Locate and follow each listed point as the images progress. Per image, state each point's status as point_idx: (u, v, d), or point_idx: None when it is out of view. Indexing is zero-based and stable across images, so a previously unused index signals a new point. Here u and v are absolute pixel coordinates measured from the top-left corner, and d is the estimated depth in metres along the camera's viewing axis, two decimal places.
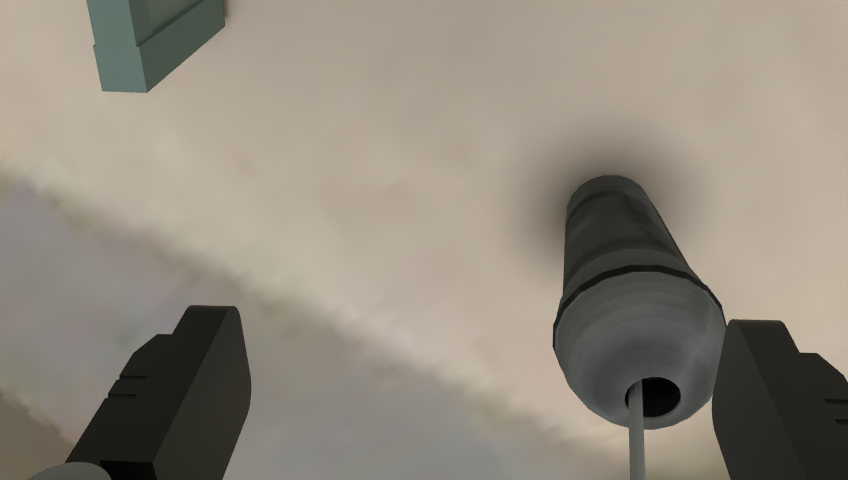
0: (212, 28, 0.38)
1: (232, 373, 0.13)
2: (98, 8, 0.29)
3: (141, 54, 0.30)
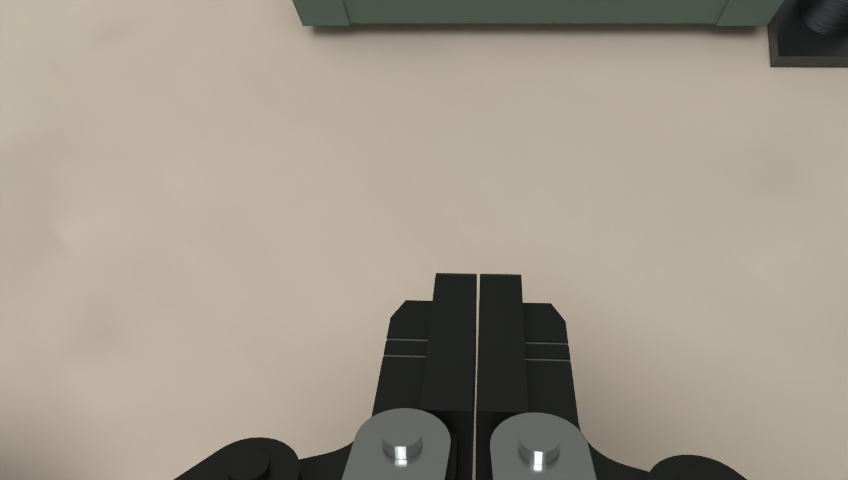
0: None
1: (475, 338, 0.14)
2: None
3: None
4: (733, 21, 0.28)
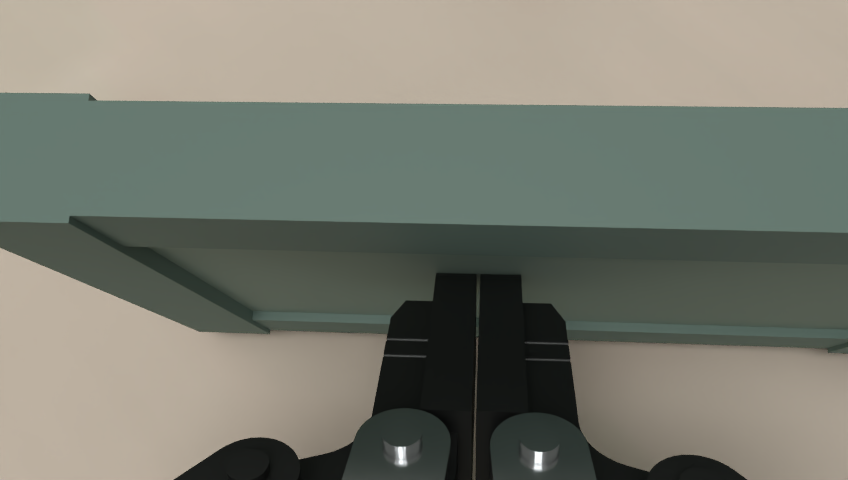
0: (187, 320, 0.18)
1: (475, 337, 0.14)
2: (187, 130, 0.10)
3: (48, 225, 0.10)
4: None
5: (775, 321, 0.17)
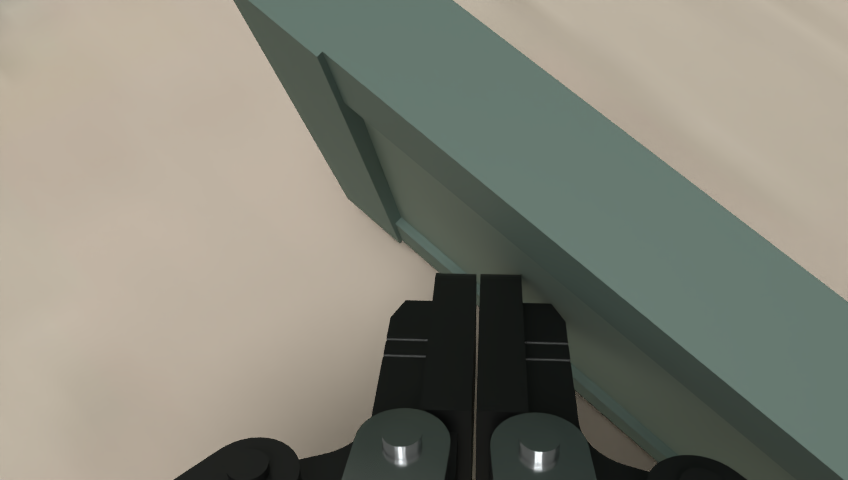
0: (345, 184, 0.18)
1: (475, 338, 0.14)
2: (467, 49, 0.10)
3: (301, 47, 0.10)
4: None
5: None
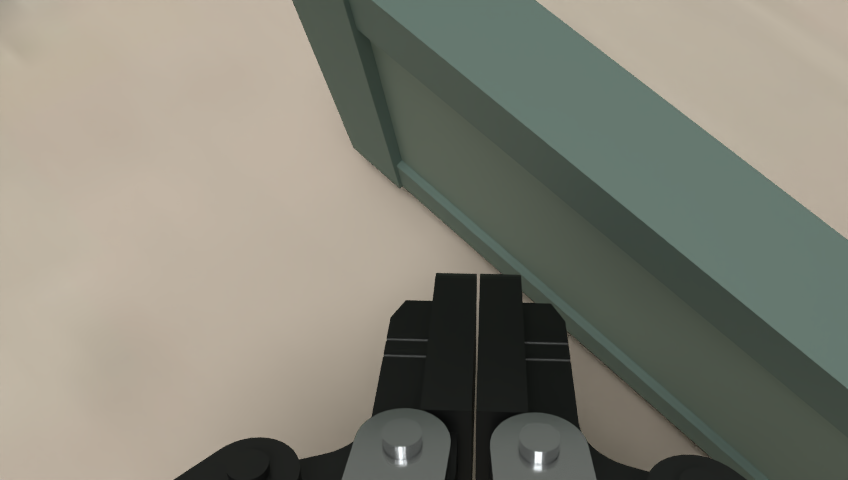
0: (352, 129, 0.20)
1: (475, 338, 0.14)
2: None
3: None
4: None
5: None
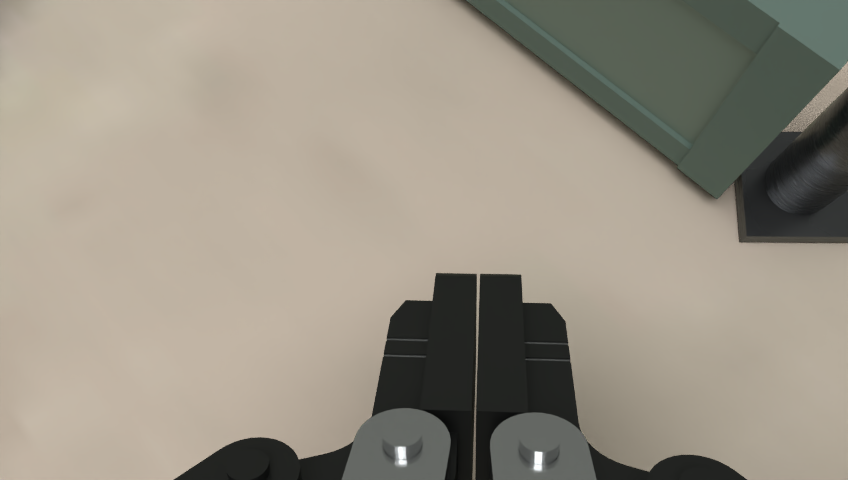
0: None
1: (475, 337, 0.14)
2: None
3: None
4: (691, 174, 0.29)
5: (652, 101, 0.27)
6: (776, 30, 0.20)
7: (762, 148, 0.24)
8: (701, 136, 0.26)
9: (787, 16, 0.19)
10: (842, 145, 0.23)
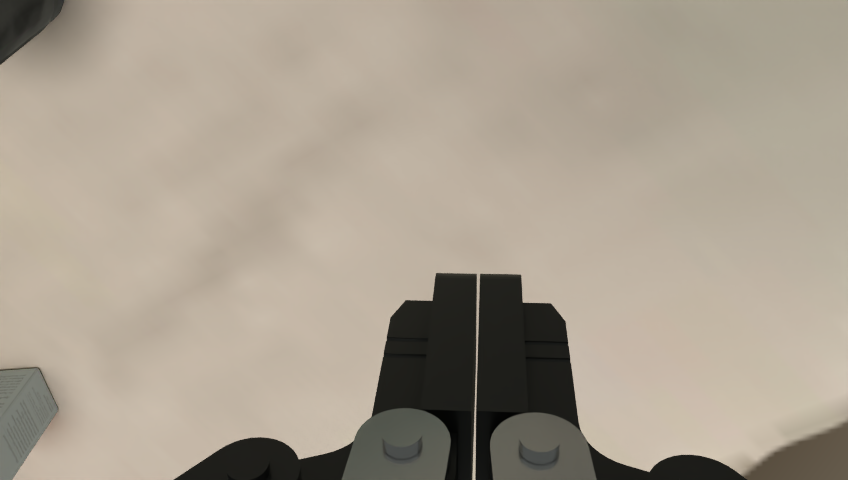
0: None
1: (475, 337, 0.14)
2: None
3: None
4: None
5: None
6: None
7: None
8: None
9: None
10: None
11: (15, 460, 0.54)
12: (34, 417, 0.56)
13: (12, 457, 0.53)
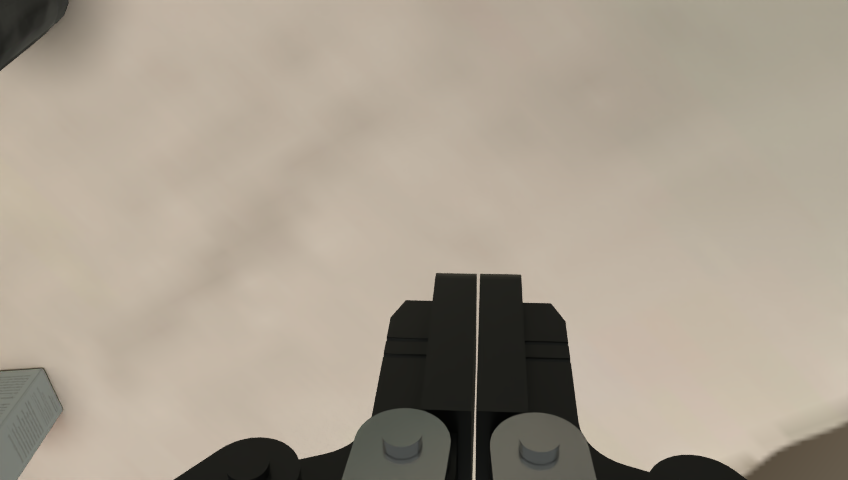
0: None
1: (475, 338, 0.14)
2: None
3: None
4: None
5: None
6: None
7: None
8: None
9: None
10: None
11: (20, 460, 0.54)
12: (39, 417, 0.56)
13: (17, 457, 0.54)
